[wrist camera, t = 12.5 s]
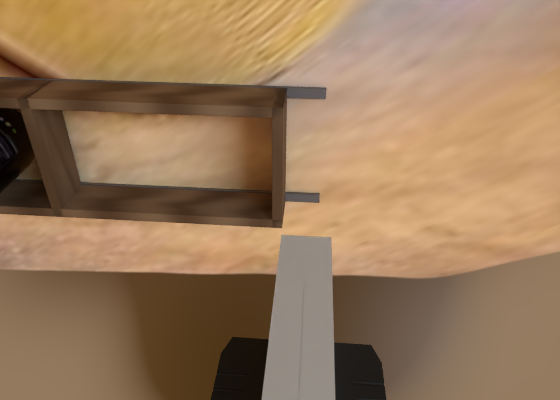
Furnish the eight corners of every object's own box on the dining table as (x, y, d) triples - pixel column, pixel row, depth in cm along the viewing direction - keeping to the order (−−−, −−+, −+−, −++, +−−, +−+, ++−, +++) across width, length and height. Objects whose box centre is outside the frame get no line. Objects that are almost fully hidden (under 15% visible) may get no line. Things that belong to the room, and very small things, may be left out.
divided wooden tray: (286, 88, 36) (283, 107, 33) (285, 201, 42) (281, 228, 39) (-72, 76, 38) (-110, 93, 35) (-27, 186, 44) (-55, 210, 40)
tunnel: (329, 39, 34) (333, 130, 21) (316, 233, 44) (314, 379, 31) (-249, 23, 37) (-570, 95, 24) (-139, 209, 47) (-323, 334, 34)
